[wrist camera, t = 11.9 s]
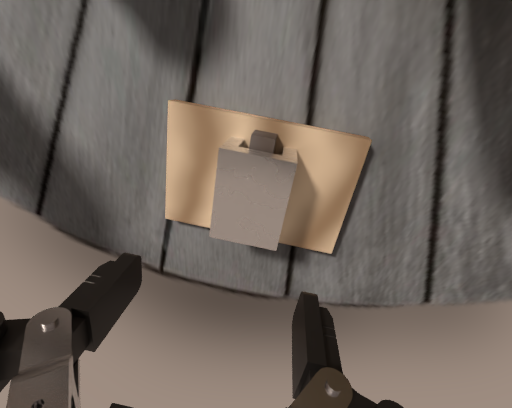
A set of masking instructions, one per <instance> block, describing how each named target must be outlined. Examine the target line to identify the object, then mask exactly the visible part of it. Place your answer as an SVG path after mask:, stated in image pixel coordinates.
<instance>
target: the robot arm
mask: <svg viewBox="0 0 512 408" xmlns="http://www.w3.org/2000/svg"><path fill="white" fill-rule="evenodd" d="M141 281H142V266H141V256H139V255H134V254H130V253H123V254H122V255H121V256H120V257H119V258H118V259H117V260H116V261H109V262H107V263H105V264H103V265H101V266H99V267H98V268H97V269H96V270H95V271H94V272H93V273H92V275H91V276H89V277H88V278H87V279H86V280H85V282H83V283H82V284H81V285H80V286H79V287H78V288H77V289H76V290H75V291H74V292H73V293H72V294H71V295H70V296H69V297H68V298H67V299H66V300H65V301H64V302H63V303H62V304H61V305H60V306H59V307H55V308H50V309H46V310H43V311H41V312H39V313H38V314H36V315H35V316H33V317H32V318H31V319H17V320H5V318H4V315H3V313H2V312H0V392H1V391H2V389H3V388H4V387H5V386H6V385H7V384H8V382H9V381H10V380H11V379H12V380H11V384H10V389H9V394H8V400H7V406H6V408H81V407H80V367H79V357H80V356H81V354H82V353H83V352H84V350H88V351H92V352H95V351H96V349H97V348H98V346H99V345H100V344H101V342H102V341H103V340H104V338H105V337H106V335H107V334H108V333H109V331H110V330H111V328H112V327H113V325H114V324H115V323H116V321H117V320H118V319H119V317H120V316H121V314H122V313H123V312H124V310H125V309H126V307H127V306H128V305H129V303H130V302H131V300H132V299H133V297H134V296H135V295H136V294H137V292H138V290H139V288H140V285H141ZM292 368H293V369H292V371H293V372H292V373H293V374H292V379H293V398H294V399H295V400H294V402H293V403H292V404H291V405H290V406H289V407H288V408H403V407H402V406H401V405H399V404H398V403H396V402H394V401H391V400H382V401H381V402H380V403H378V404H376V403H374V402H373V401H371V400H369V399H367V398H365V397H364V396H362V395H360V394H359V393H357V392H356V391H355V390H354V389H353V388H352V387H351V385H350V383H349V381H348V379H347V378H346V377H345V376H344V375H343V372H342V367H341V361H340V356H339V350H338V345H337V339H336V334H335V330H334V323H333V318H332V316H331V315H330V313H329V311H328V310H327V308H323V307H319V302H318V296H317V295H316V294H312V293H307V292H301V294H300V297H299V300H298V303H297V306H296V309H295V312H294V315H293V321H292ZM110 408H132V407H128V406H124V405H119V404H115V403H112V404H111V406H110Z"/></svg>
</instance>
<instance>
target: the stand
mask: <svg viewBox="0 0 512 408" xmlns="http://www.w3.org/2000/svg"><path fill="white" fill-rule="evenodd" d="M230 137H236V138H241V139H244V145H243V148H248V149H253V150H258V151H263V152H268V153H273V154H278V155H282V152H283V147H287V148H292V149H297V163H298V164H297V168H296V172H295V176H294V180H293V184H292V188H291V192H290V196H289V200H288V205H287V209H286V213H285V217H284V221H283V225H282V229H281V233H280V237H279V242H278V243H283V244H287V245H292V246H297V247H301V248H306V249H311V250H315V251H320V252H325V253H329V254H332V251H333V248H334V245H335V243H336V240H337V237H338V234H339V231H340V229H341V226H342V223H343V220H344V217H345V215H346V212H347V209H348V206H349V203H350V201H351V198H352V195H353V192H354V189H355V187H356V184H357V181H358V178H359V175H360V173H361V170H362V167H363V164H364V161H365V159H366V156H367V153H368V150H369V147H370V145H371V142H372V140H371V139H370V138H368V137H365V136H360V135H355V134H350V133H345V132H340V131H334V130H329V129H324V128H319V127H314V126H309V125H304V124H298V123H293V122H288V121H283V120H278V119H273V118H268V117H262V116H257V115H252V114H247V113H242V112H237V111H232V110H226V109H221V108H216V107H211V106H206V105H201V104H196V103H191V102H185V101H180V100H168V129H167V170H166V211H165V218H166V219H170V220H175V221H180V222H185V223H189V224H194V225H199V226H203V227H208V228H210V225H211V216H212V207H213V198H214V188H215V179H216V170H217V161H218V151H219V147H220V146H221V145H223V144H224V143H225V142H226V141H227V140H228V139H229V138H230Z"/></svg>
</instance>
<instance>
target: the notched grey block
mask: <svg viewBox="0 0 512 408" xmlns="http://www.w3.org/2000/svg"><path fill="white" fill-rule="evenodd" d="M243 145H244V139H241V138H236V137H230V138H229V139H228V140H227V141H226V142H225V143H224V144H223V145H221V146H220V147H219V151H218V161H217V170H216V179H215V188H214V198H213V207H212V216H211V225H210V235H209V237H213V238H218V239H222V240H227V241H232V242H236V243H241V244H246V245H250V246H255V247H260V248H265V249H269V250H274V251H276V250H277V246H278V242H279V237H280V233H281V229H282V225H283V221H284V217H285V213H286V209H287V205H288V200H289V196H290V192H291V188H292V184H293V180H294V176H295V172H296V168H297V164H298V163H297V149H292V148H287V147H283V152H282V155H278V154H273V153H268V152H263V151H258V150H253V149H248V148H243Z"/></svg>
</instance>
